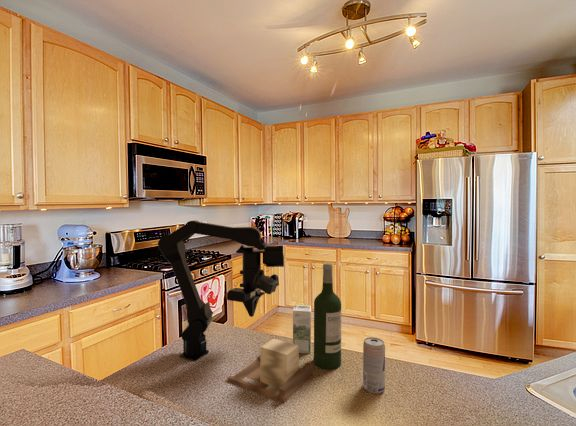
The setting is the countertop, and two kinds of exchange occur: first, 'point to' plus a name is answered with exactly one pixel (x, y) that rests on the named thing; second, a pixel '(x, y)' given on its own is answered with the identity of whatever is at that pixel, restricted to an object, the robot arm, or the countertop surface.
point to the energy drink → (374, 365)
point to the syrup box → (302, 328)
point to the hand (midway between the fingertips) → (251, 316)
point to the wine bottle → (327, 324)
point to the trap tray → (268, 390)
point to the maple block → (278, 362)
